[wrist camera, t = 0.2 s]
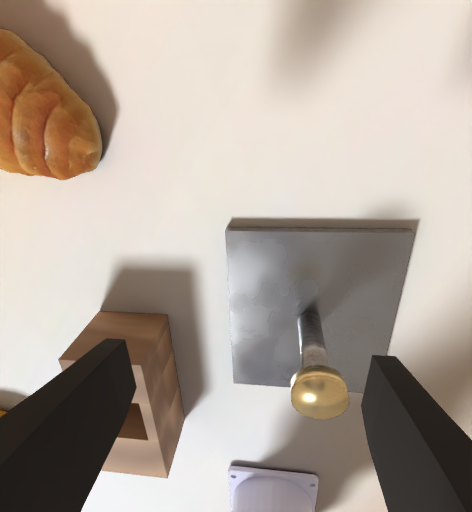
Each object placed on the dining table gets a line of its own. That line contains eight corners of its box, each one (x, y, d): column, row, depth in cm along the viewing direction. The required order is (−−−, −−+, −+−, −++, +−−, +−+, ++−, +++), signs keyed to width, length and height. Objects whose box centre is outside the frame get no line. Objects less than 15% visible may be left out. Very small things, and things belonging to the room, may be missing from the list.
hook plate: (374, 386, 22) (407, 486, 16) (234, 376, 23) (220, 466, 18) (410, 229, 17) (478, 296, 11) (226, 227, 18) (202, 286, 12)
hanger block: (184, 419, 26) (167, 478, 22) (128, 414, 27) (102, 470, 23) (167, 314, 21) (140, 365, 17) (99, 311, 22) (58, 359, 18)
